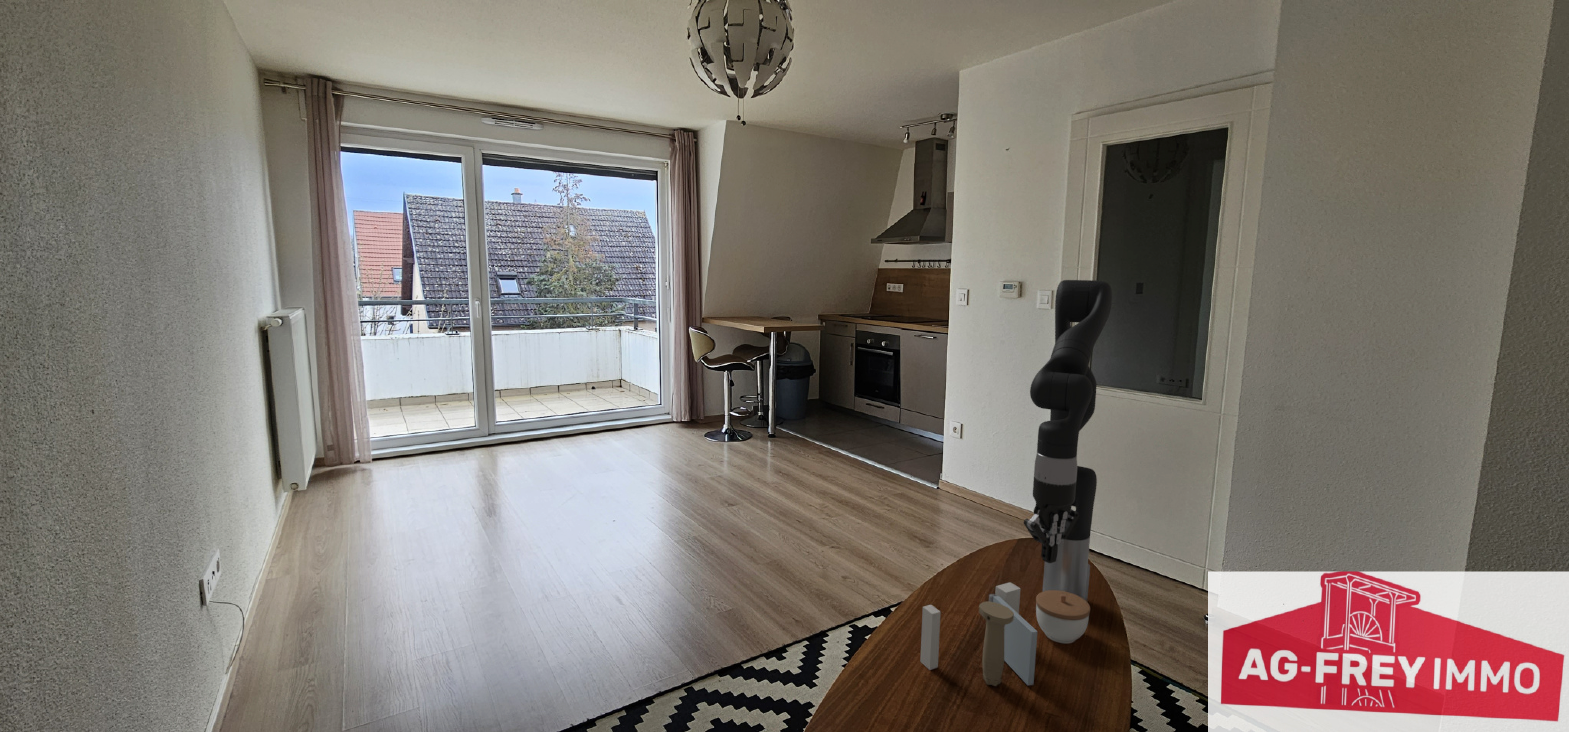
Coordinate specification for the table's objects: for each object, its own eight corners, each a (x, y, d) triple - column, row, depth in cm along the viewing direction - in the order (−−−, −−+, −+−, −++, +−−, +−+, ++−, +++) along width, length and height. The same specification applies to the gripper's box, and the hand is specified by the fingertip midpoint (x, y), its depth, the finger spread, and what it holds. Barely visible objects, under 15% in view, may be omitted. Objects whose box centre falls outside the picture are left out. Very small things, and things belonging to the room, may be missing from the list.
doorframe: (1006, 633, 146) (1009, 582, 144) (1016, 640, 143) (1020, 588, 141) (920, 661, 136) (922, 606, 134) (929, 669, 133) (932, 613, 131)
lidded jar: (1082, 655, 138) (1086, 613, 137) (1028, 639, 144) (1031, 598, 142) (1091, 631, 147) (1094, 591, 146) (1039, 616, 153) (1042, 578, 151)
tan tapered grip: (998, 695, 126) (1003, 621, 123) (970, 678, 131) (974, 606, 128) (1013, 684, 129) (1018, 612, 126) (985, 668, 134) (989, 598, 131)
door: (984, 640, 143) (987, 592, 141) (991, 639, 143) (994, 591, 141) (1026, 685, 128) (1030, 632, 126) (1034, 684, 128) (1038, 631, 126)
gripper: (1045, 488, 122) (1039, 577, 125) (1095, 476, 128) (1088, 561, 131) (1014, 475, 129) (1009, 560, 132) (1063, 465, 135) (1057, 546, 138)
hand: (1048, 560), depth 132 cm, fingers closed
